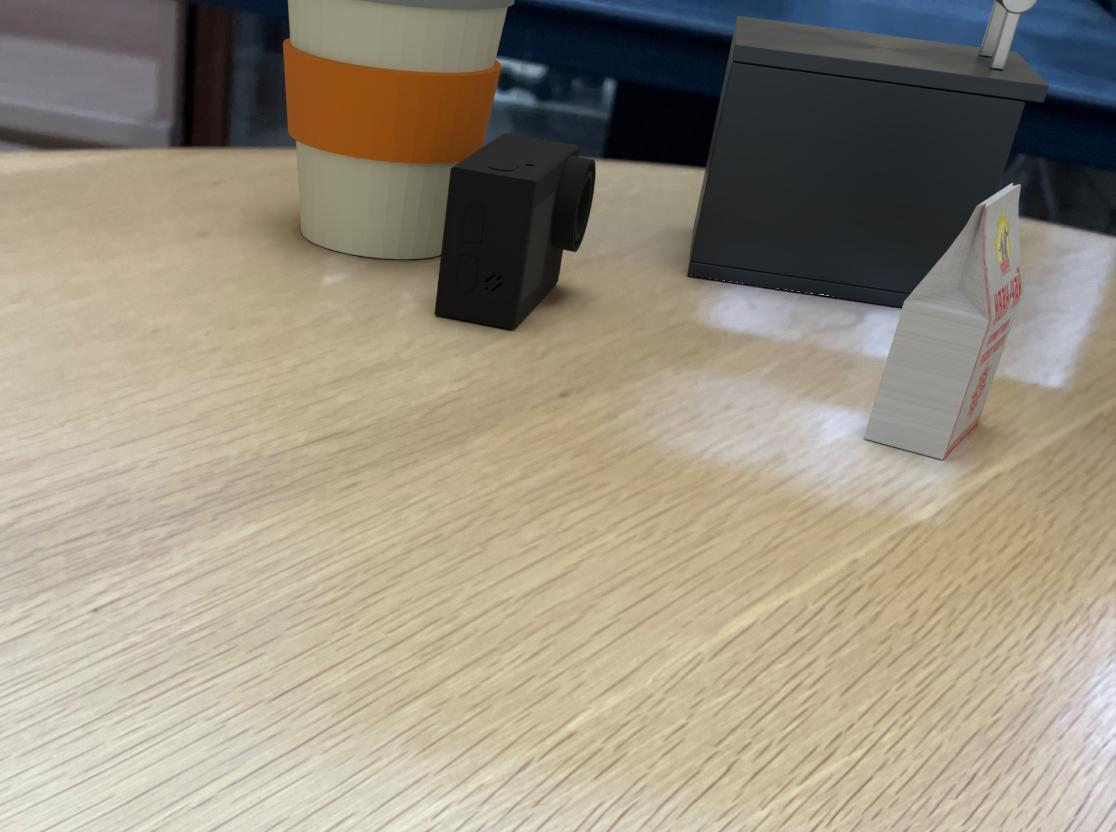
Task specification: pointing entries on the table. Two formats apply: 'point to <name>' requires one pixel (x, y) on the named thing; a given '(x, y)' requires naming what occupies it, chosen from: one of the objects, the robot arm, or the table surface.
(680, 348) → the table surface
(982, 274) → the small milk carton
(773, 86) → the bin
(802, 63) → the bin lid
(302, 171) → the reusable coffee cup
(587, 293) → the table surface
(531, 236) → the digital camera
